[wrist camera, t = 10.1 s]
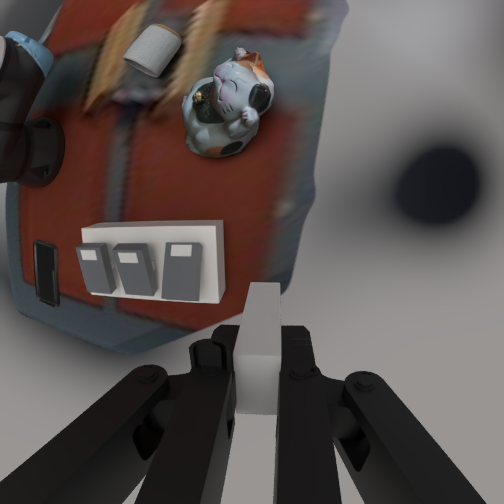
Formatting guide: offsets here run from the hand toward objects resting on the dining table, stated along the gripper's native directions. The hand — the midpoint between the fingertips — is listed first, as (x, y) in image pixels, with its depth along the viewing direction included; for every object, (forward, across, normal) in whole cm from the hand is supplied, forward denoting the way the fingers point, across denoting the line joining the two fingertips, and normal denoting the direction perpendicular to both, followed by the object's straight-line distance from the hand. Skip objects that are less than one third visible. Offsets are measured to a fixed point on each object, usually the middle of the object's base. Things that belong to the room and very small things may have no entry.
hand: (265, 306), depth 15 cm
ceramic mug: (+33, -20, +31) cm, 49 cm away
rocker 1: (+24, -28, -6) cm, 37 cm away
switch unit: (+32, -20, -6) cm, 39 cm away
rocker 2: (+23, -20, -6) cm, 31 cm away
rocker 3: (+23, -12, -6) cm, 27 cm away
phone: (+33, -50, -11) cm, 61 cm away
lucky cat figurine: (+33, -7, +18) cm, 38 cm away
